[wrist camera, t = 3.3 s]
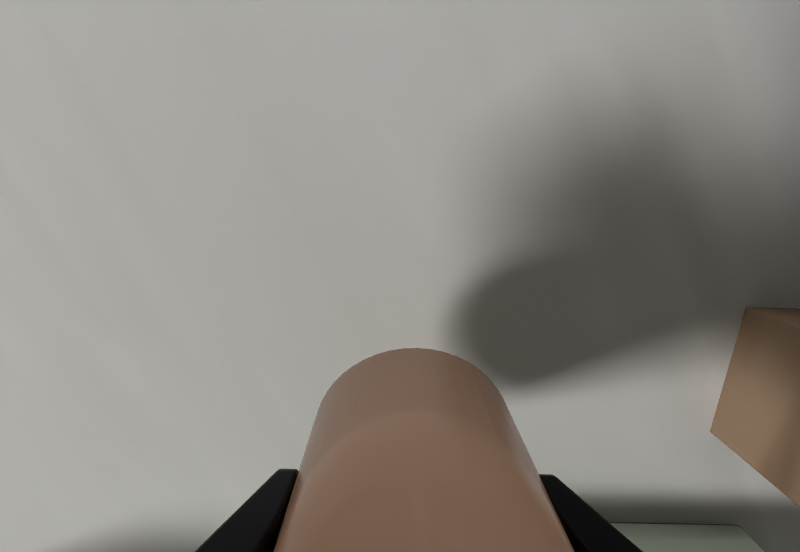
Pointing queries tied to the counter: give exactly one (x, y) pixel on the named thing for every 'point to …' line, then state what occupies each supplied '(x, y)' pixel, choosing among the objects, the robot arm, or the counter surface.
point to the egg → (417, 466)
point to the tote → (688, 538)
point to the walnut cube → (765, 397)
